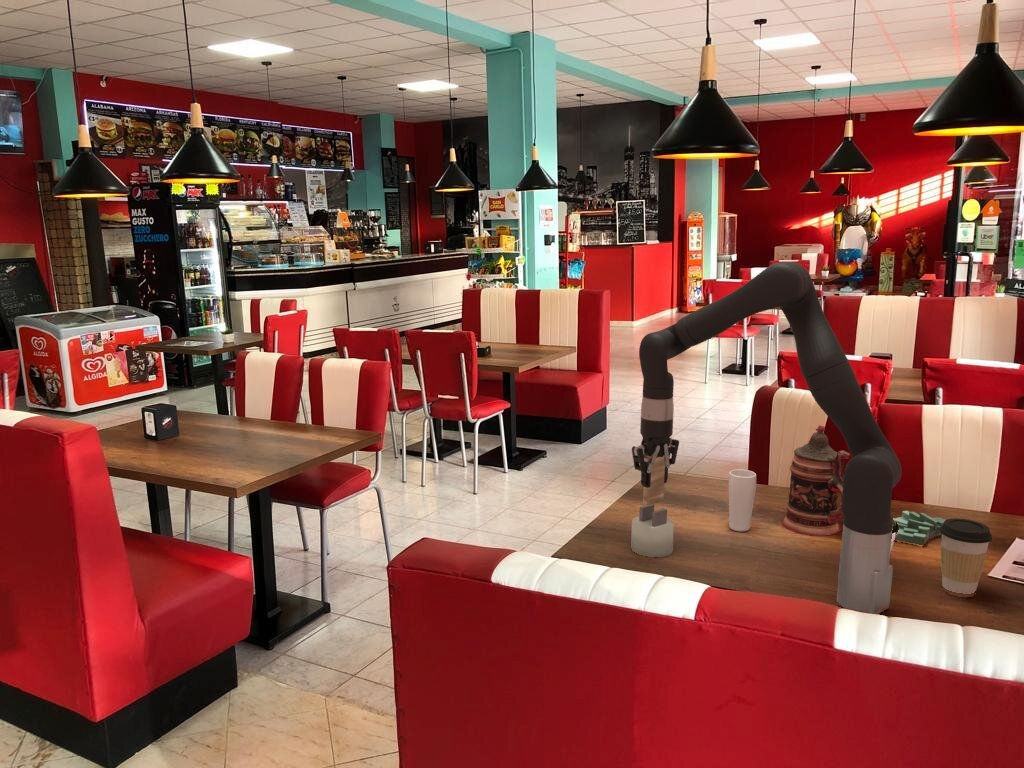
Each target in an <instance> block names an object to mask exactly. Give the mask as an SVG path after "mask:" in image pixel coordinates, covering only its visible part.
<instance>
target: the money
mask: <svg viewBox="0 0 1024 768" xmlns="http://www.w3.org/2000/svg"><path fill="white" fill-rule="evenodd" d="M893 520H894V521H895V522H897V524H898V527H899V530H898V532H897V534H896V538H895V540H900V541H905V542H909V543H915V544H919V545H924V543H925V541H926V540H928V539H929V538H930V537H932V536H934V535H937V534H939V533H940V531H939V529H940V527H941V525H943V523H944V521H945V520H946V519H945V518H942V517H932V516H930V515H928V514H926V513H925V512H920V513H919V514H918V513H917V512H915V511H909V510H903V511H901V516H900V517H899V516H897V517H893ZM928 541H929V540H928ZM925 544H926V543H925ZM924 546H925V545H924Z"/></svg>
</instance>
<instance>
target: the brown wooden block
mask: <svg viewBox="0 0 1024 768" xmlns="http://www.w3.org/2000/svg"><path fill="white" fill-rule="evenodd" d="M645 458H646V459H651V456H647V455H646V454H645ZM647 465H648V462H645V467H647ZM650 473H651V485H650V487H649V488H646V487H643V494H642V495H643V496H642V503H643V504H645V505H651V504H654V505H655V504H658V503H661V502H664V500H665V484H666V483H664V478H665V462H664V455H663V457H658V458H656V460H655V463H654V464H653V465H652V468H651V472H650Z"/></svg>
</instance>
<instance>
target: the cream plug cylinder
mask: <svg viewBox="0 0 1024 768" xmlns="http://www.w3.org/2000/svg"><path fill="white" fill-rule="evenodd" d="M638 514H639V515H637V516H634V517H632V520H631V537H630V538H631V539H630V550H631V549H632V550H631V551H632V552H633V551H634V552H635V553H634V552H633V553H634V554H636V553H637V554H636V555H638V554H640V555H639V556H641V555H643V556H642V557H645V556H648V557H647V558H653V557H658V558H665V557H668V556H670V555H671V554H672V553H673V552H674V531H675V530H674V527H675V523H674V520H673V519H671V518H670V517H668V508H660V509H658V510H655V504H651V505H647V504H645V505H641V506H639V513H638ZM664 556H665V557H664Z"/></svg>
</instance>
